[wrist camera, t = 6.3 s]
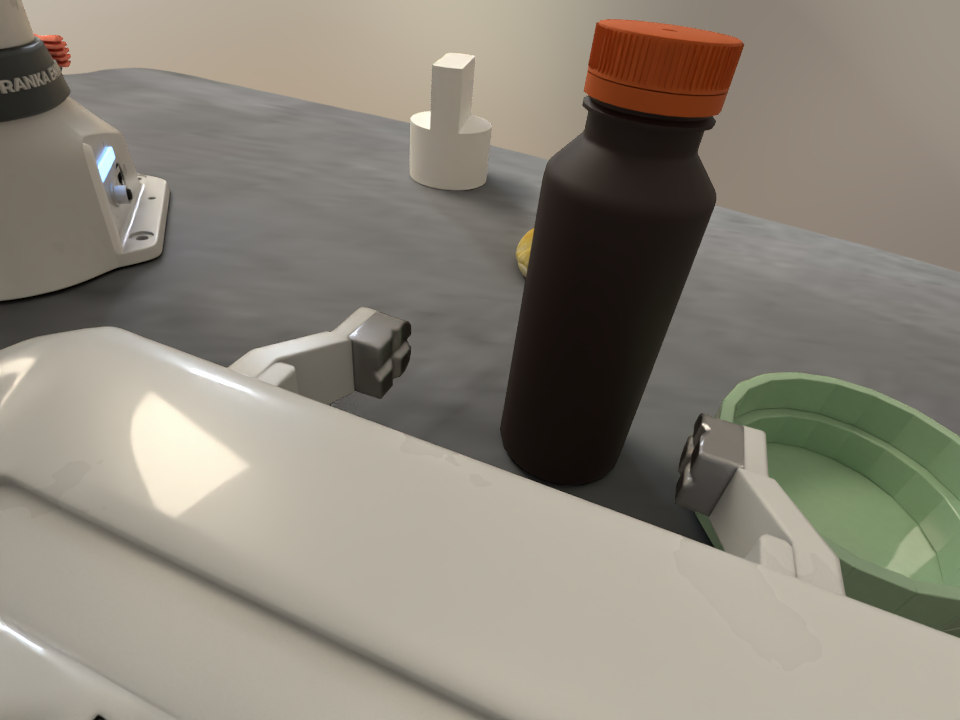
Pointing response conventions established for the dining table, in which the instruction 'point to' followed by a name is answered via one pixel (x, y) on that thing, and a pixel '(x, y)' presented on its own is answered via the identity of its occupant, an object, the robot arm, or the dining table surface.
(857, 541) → the bowl
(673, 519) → the dining table surface
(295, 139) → the dining table surface
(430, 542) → the robot arm
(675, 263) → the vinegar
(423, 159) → the cylinder with rectangular tab
